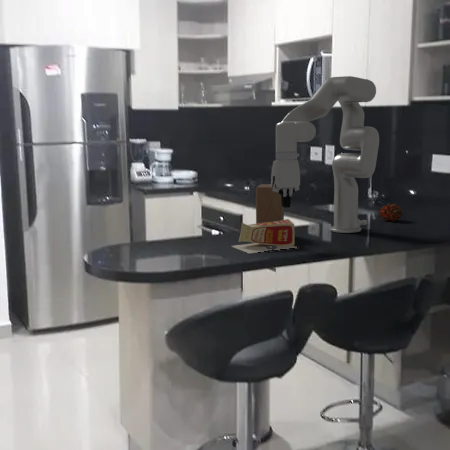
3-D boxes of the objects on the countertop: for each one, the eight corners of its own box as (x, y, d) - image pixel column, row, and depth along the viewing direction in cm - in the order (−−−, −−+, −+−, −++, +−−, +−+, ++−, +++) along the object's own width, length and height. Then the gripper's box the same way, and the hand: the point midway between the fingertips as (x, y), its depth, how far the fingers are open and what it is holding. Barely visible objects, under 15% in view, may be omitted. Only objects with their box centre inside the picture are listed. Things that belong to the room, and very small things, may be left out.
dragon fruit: (400, 226, 280) (380, 226, 291) (410, 213, 284) (389, 214, 294) (391, 212, 277) (370, 212, 288) (401, 199, 281) (380, 200, 291)
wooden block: (281, 238, 250) (281, 187, 247) (255, 237, 252) (255, 186, 249) (284, 233, 260) (284, 184, 257) (259, 232, 262) (259, 184, 259)
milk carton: (294, 245, 236) (242, 249, 230) (284, 240, 244) (234, 244, 238) (294, 220, 234) (242, 224, 228) (284, 217, 243) (234, 220, 237)
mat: (278, 241, 244) (278, 240, 244) (298, 248, 232) (298, 247, 232) (231, 246, 236) (231, 245, 236) (248, 253, 223) (248, 253, 223)
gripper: (298, 155, 239) (298, 204, 242) (262, 157, 232) (263, 207, 235) (309, 156, 232) (309, 206, 235) (273, 158, 226) (273, 210, 229)
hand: (286, 207), depth 235 cm, fingers closed
